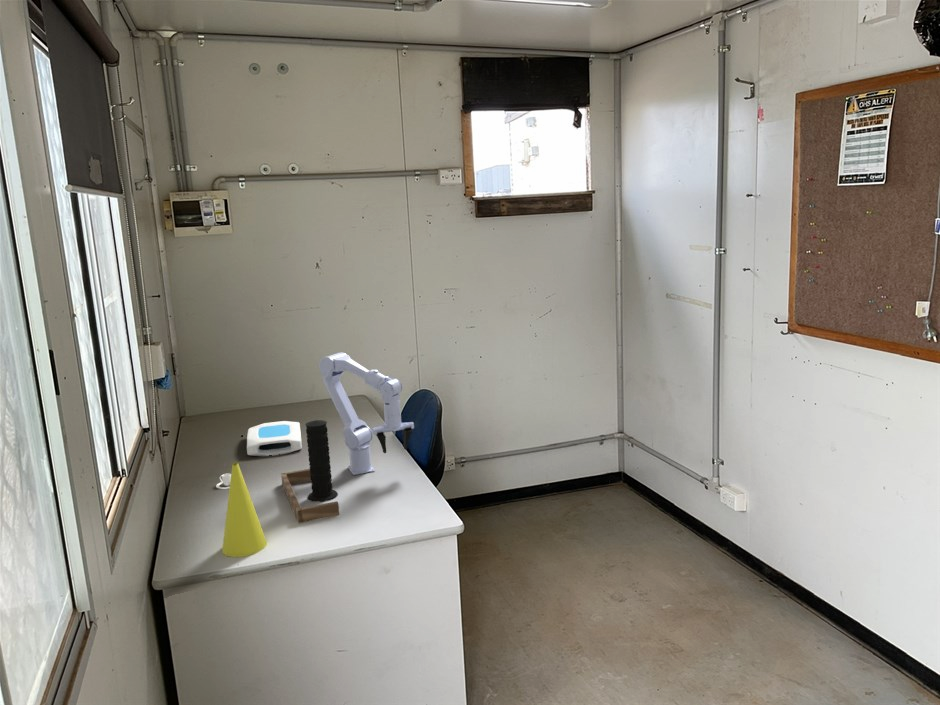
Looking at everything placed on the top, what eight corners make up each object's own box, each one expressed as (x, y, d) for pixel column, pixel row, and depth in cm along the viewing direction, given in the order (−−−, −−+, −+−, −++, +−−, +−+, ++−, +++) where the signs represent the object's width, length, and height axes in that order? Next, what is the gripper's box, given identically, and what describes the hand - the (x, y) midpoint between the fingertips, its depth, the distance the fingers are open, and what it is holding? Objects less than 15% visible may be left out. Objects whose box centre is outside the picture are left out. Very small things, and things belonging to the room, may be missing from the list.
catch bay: (282, 484, 252) (281, 473, 252) (318, 477, 257) (317, 467, 256) (298, 523, 219) (296, 510, 219) (339, 514, 224) (338, 502, 223)
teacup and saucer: (246, 483, 256) (244, 473, 255) (228, 491, 249) (226, 480, 248) (229, 480, 260) (227, 469, 259) (211, 487, 253) (209, 476, 253)
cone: (271, 535, 211) (262, 455, 207) (260, 555, 199) (251, 470, 195) (229, 538, 211) (219, 457, 206) (216, 558, 199) (205, 473, 194)
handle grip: (306, 492, 243) (308, 503, 234) (299, 418, 238) (301, 426, 228) (336, 488, 246) (339, 499, 236) (329, 414, 241) (332, 422, 231)
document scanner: (300, 432, 313) (299, 418, 312) (302, 452, 287) (301, 437, 285) (250, 438, 308) (248, 424, 307) (247, 459, 282) (246, 443, 280)
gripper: (375, 419, 244) (378, 457, 247) (415, 413, 250) (418, 450, 252) (370, 414, 251) (373, 451, 254) (409, 408, 256) (412, 444, 259)
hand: (395, 450), depth 253 cm, fingers open, 7 cm apart
